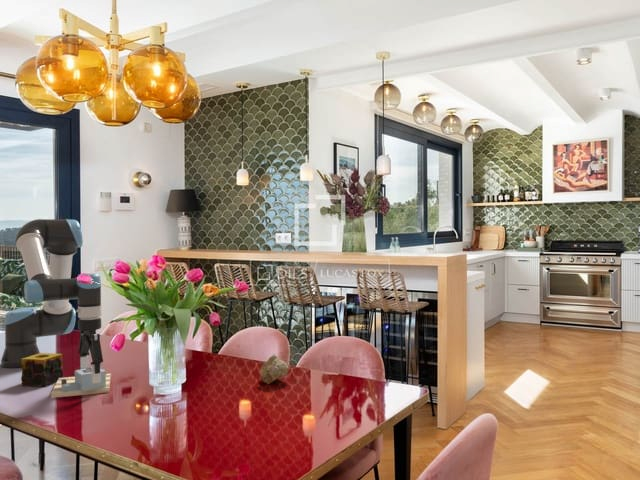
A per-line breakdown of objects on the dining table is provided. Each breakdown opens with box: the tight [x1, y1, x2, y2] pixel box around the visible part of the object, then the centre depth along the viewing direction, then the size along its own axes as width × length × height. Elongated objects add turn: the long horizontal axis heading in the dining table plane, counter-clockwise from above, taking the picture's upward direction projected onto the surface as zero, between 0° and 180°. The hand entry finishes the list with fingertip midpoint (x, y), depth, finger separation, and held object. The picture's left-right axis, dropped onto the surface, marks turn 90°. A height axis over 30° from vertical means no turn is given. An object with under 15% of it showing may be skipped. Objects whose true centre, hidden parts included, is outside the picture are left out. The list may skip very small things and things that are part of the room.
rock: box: [259, 353, 291, 385], centre depth 197 cm, size 12×10×10 cm
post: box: [86, 366, 92, 373], centre depth 188 cm, size 3×3×6 cm
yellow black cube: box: [20, 352, 64, 388], centre depth 199 cm, size 10×10×10 cm
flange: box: [61, 368, 107, 392], centre depth 186 cm, size 13×8×6 cm, turn 129°
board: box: [50, 373, 112, 399], centre depth 193 cm, size 20×18×2 cm
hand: (90, 378), depth 188 cm, fingers open, 13 cm apart
